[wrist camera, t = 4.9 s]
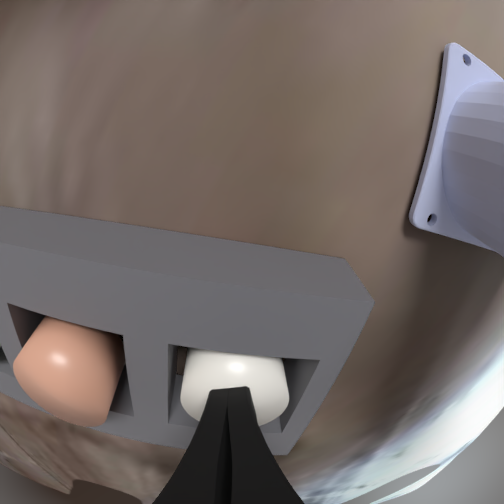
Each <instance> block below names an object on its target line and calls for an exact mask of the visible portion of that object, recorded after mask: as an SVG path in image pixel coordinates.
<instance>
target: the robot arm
mask: <svg viewBox="0 0 504 504" xmlns="http://www.w3.org/2000/svg"><path fill="white" fill-rule="evenodd" d="M463 58H464V60H465V63H464V61H463ZM430 214H432V217H431V219H430V221H429V222H427V219H428V217H429V215H430ZM409 221H410V222H411V224H412V225H414V226H415V227H417V228H419V229H422V230H426V231H429V232H433V233H437V234H440V235H443V236H447V237H450V238H454V239H457V240H460V241H464V242H467V243H470V244H473V245H477V246H480V247H483V248H486V249H489V250H492V251H495V252H497V253H498V254H500V255H501V256H502V257H504V80H503V79H502V78H501V77H500V76H499V75H498V74H497V73H495V72H494V71H493V70H492V69H491V68H489V67H488V66H487V65H486V64H484V63H483V62H482V61H481V60H479V59H478V58H477V57H475V56H474V55H473V54H471V53H470V52H469V51H467V50H466V49H464V48H463V47H462V46H460V45H459V44H457V43H449V44H447V45H446V46H445V49H444V58H443V66H442V74H441V81H440V88H439V94H438V100H437V106H436V111H435V116H434V121H433V126H432V131H431V135H430V140H429V144H428V148H427V152H426V156H425V160H424V164H423V168H422V171H421V175H420V179H419V182H418V186H417V189H416V192H415V196H414V199H413V202H412V205H411V208H410V212H409ZM152 504H304V502H303V501H302V500H301V498H300V497H299V496H298V495H297V493H296V492H295V490H294V489H293V488H292V486H291V485H290V483H289V482H288V480H287V479H286V477H285V476H284V474H283V472H282V471H281V469H280V467H279V466H278V464H277V462H276V460H275V459H274V457H273V455H272V453H271V451H270V449H269V447H268V445H267V443H266V441H265V439H264V436H263V434H262V432H261V429H260V427H259V425H258V422H257V416H256V411H255V408H254V404H253V400H252V396H251V392H250V388H249V387H247V386H242V387H233V388H223V389H212V390H211V391H210V392H209V395H208V399H207V402H206V405H205V408H204V411H203V413H202V416H201V419H200V421H199V424H198V426H197V428H196V431H195V433H194V435H193V438H192V440H191V442H190V444H189V446H188V448H187V450H186V452H185V454H184V456H183V458H182V460H181V462H180V464H179V465H178V467H177V469H176V470H175V472H174V474H173V475H172V477H171V478H170V480H169V482H168V483H167V484H166V486H165V487H164V489H163V490H162V491H161V493H160V494H159V496H158V497H157V498H156V499H155V501H154V502H153V503H152Z"/></svg>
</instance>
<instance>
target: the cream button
mask: <svg viewBox="0 0 504 504" xmlns="http://www.w3.org/2000/svg"><path fill="white" fill-rule="evenodd" d="M242 386H247V387H249V388H250V392H251V396H252V400H253V404H254V408H255V411H256V416H257V422H258V425H259V426H261V425H264V424H266V423H268V422H270V421H272V420H274V419H276V418H277V417H278V416H280V415H281V414H282V413H283V412H284V411H285V409H286V407H287V406H288V403H289V393H288V387H287V382H286V376H285V371H284V366H283V360H282V358H280V357H268V356H257V355H246V354H237V353H228V352H220V351H213V350H205V349H198V348H191V347H188V350H187V357H186V363H185V369H184V376H183V382H182V389H181V396H180V399H181V404H182V406H183V408H184V410H185V411H186V412H187V413H188V414H189V415H190V416H191V417H193V418H194V419H196V420H198V421H200V419H201V416H202V413H203V411H204V408H205V405H206V402H207V399H208V395H209V392H210V391H211V390H212V389H223V388H233V387H242Z"/></svg>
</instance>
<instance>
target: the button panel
mask: <svg viewBox="0 0 504 504" xmlns="http://www.w3.org/2000/svg"><path fill="white" fill-rule="evenodd" d="M374 304H375V301H374V300H373V298H372V297H371V295H370V294H369V292H368V291H367V290H366V288H365V287H364V285H363V284H362V282H361V281H360V279H359V278H358V277H357V275H356V274H355V272H354V271H353V269H352V268H351V267H350V265H349V264H348V262H347V261H346V260H345V259H344V258H338V257H331V256H325V255H319V254H313V253H307V252H301V251H295V250H289V249H283V248H276V247H270V246H264V245H258V244H251V243H245V242H239V241H233V240H226V239H220V238H214V237H207V236H201V235H194V234H188V233H181V232H175V231H168V230H162V229H155V228H149V227H142V226H136V225H129V224H122V223H116V222H109V221H102V220H95V219H88V218H82V217H75V216H68V215H61V214H54V213H47V212H40V211H33V210H26V209H19V208H12V207H4V206H0V344H1V347H0V392H2V393H4V394H6V395H8V396H10V397H12V398H14V399H16V400H18V401H20V402H22V403H24V404H27V405H29V406H31V407H34V408H36V409H38V410H41V411H43V412H46V413H48V414H51V413H49V412H47V411H46V410H44V409H43V408H42V407H40V406H39V405H38V404H37V403H36V402H34V401H33V400H32V399H31V398H30V397H29V396H28V395H27V394H26V392H25V391H24V390H23V389H22V387H21V386H20V384H19V383H18V381H17V379H16V377H15V374H14V371H13V363H14V360H15V359H16V357H17V356H18V354H19V353H20V351H21V350H22V348H23V347H24V345H25V344H26V342H27V341H28V339H29V338H30V337H31V335H32V334H33V332H34V331H35V330H36V328H37V327H38V325H39V324H40V323H41V321H42V320H43V319H44V317H45V316H46V315H47V316H50V317H53V318H57V319H60V320H64V321H68V322H71V323H75V324H79V325H83V326H87V327H91V328H95V329H99V330H103V331H107V332H112V333H116V334H121V335H123V342H124V351H125V359H126V365H125V364H124V367H123V370H122V373H121V376H120V379H119V382H118V385H117V388H116V391H115V394H114V397H113V400H112V403H111V406H110V409H109V412H108V415H107V419H106V421H105V422H104V423H103V424H102V425H99V426H96V427H88V428H91V429H94V430H98V431H101V432H105V433H108V434H112V435H116V436H120V437H124V438H128V439H132V440H137V441H141V442H146V443H151V444H156V445H162V446H168V447H174V448H180V449H187V448H188V446H189V444H190V442H191V440H192V438H193V435H194V433H195V431H196V428H197V426H198V424H199V421H198V420H196V419H194V418H193V417H191V416H190V415H189V414H188V413H187V412H186V411H185V410H184V408H183V406H182V404H181V399H180V396H181V389H182V382H183V375H177V374H176V369H177V348H178V345H179V346H185V347H191V348H198V349H205V350H213V351H220V352H228V353H237V354H246V355H257V356H268V357H280V358H285V361H284V363H283V366H284V371H285V376H286V382H287V387H288V393H289V403H288V406H287V407H286V409H285V411H284V412H283V413H282V414H281V415H280V416H278V417H277V418H276V419H274V420H272V421H270V422H268V423H266V424H264V425H261V426H259V427H260V429H261V432H262V434H263V436H264V439H265V441H266V443H267V445H268V447H269V449H270V451H271V453H272V455H288V453H289V452H290V451H291V449H292V448H293V446H294V445H295V443H296V442H297V441H298V439H299V438H300V436H301V435H302V433H303V432H304V430H305V429H306V427H307V426H308V424H309V423H310V421H311V420H312V418H313V416H314V415H315V413H316V412H317V410H318V408H319V407H320V405H321V404H322V402H323V400H324V399H325V397H326V395H327V394H328V392H329V390H330V389H331V387H332V385H333V383H334V382H335V380H336V378H337V376H338V375H339V373H340V371H341V369H342V368H343V366H344V364H345V362H346V360H347V358H348V356H349V355H350V353H351V351H352V349H353V347H354V345H355V343H356V341H357V339H358V337H359V335H360V333H361V331H362V329H363V327H364V325H365V323H366V321H367V319H368V317H369V314H370V312H371V310H372V308H373V306H374ZM51 415H52V414H51ZM53 416H54V415H53Z"/></svg>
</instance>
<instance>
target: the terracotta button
mask: <svg viewBox="0 0 504 504" xmlns="http://www.w3.org/2000/svg"><path fill="white" fill-rule="evenodd" d="M125 362H126V359H125V351H124V344H123V342H122V340H121V339H120V337H119V336H118V334H116V333H112V332H107V331H103V330H99V329H95V328H91V327H87V326H83V325H79V324H75V323H71V322H68V321H64V320H60V319H57V318H53V317H50V316H47V315H46V316H45V317H44V319H43V320H42V321H41V323H40V324H39V325H38V327H37V328H36V330H35V331H34V332H33V334H32V335H31V337H30V338H29V339H28V341H27V342H26V344H25V345H24V347H23V348H22V350H21V351H20V353H19V354H18V356H17V357H16V359H15V360H14V363H13V371H14V374H15V377H16V379H17V381H18V383H19V384H20V386H21V387H22V389H23V390H24V391H25V392H26V394H27V395H28V396H29V397H30V398H31V399H32V400H33V401H34V402H36V403H37V404H38V405H39V406H40V407H42V408H43V409H44V410H46V411H47V412H49V413H51V414H52V415H54V416H56V417H58V418H60V419H62V420H64V421H66V422H69V423H72V424H75V425H79V426H85V427H96V426H99V425H102V424H103V423H104V422H105V421H106V419H107V415H108V412H109V409H110V406H111V403H112V400H113V397H114V394H115V391H116V388H117V385H118V382H119V379H120V376H121V373H122V370H123V367H124V364H125Z"/></svg>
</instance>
